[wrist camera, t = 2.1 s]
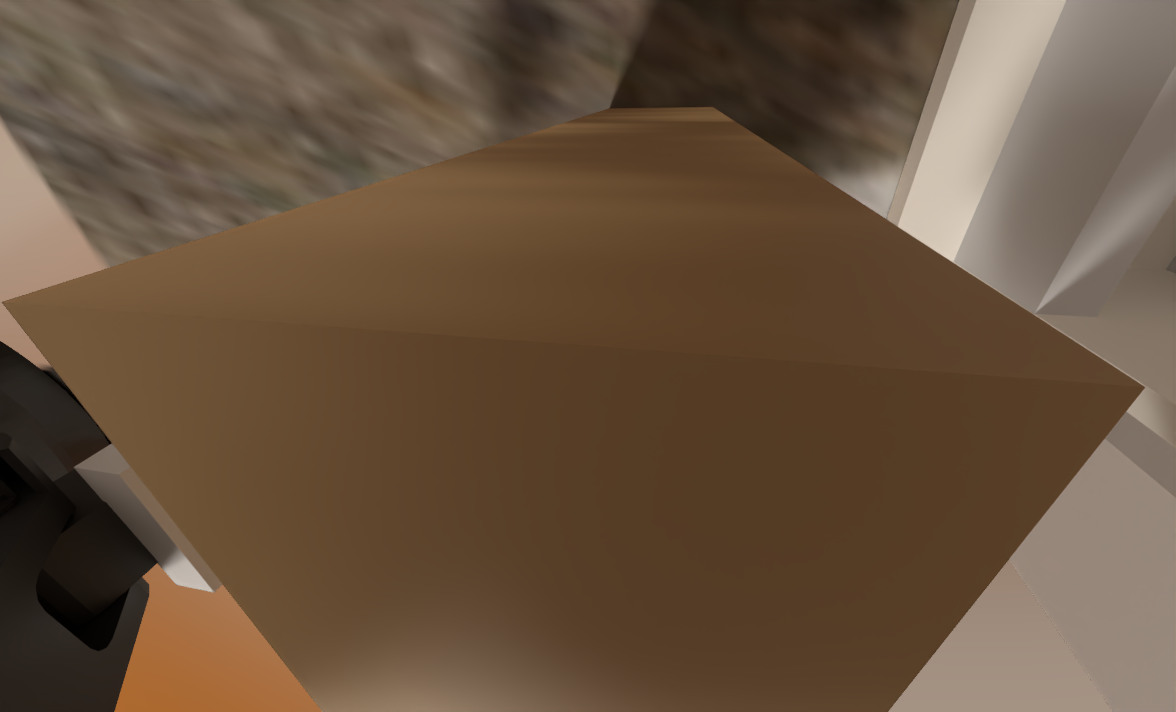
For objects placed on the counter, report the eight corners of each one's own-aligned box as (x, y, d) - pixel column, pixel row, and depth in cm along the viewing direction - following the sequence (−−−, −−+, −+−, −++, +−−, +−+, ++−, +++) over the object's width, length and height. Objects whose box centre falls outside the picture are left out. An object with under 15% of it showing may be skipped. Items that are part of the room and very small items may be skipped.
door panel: (605, 382, 18) (472, 909, 7) (606, 108, 13) (-25, 298, 1) (683, 389, 18) (688, 974, 6) (716, 106, 13) (1206, 391, 1)
